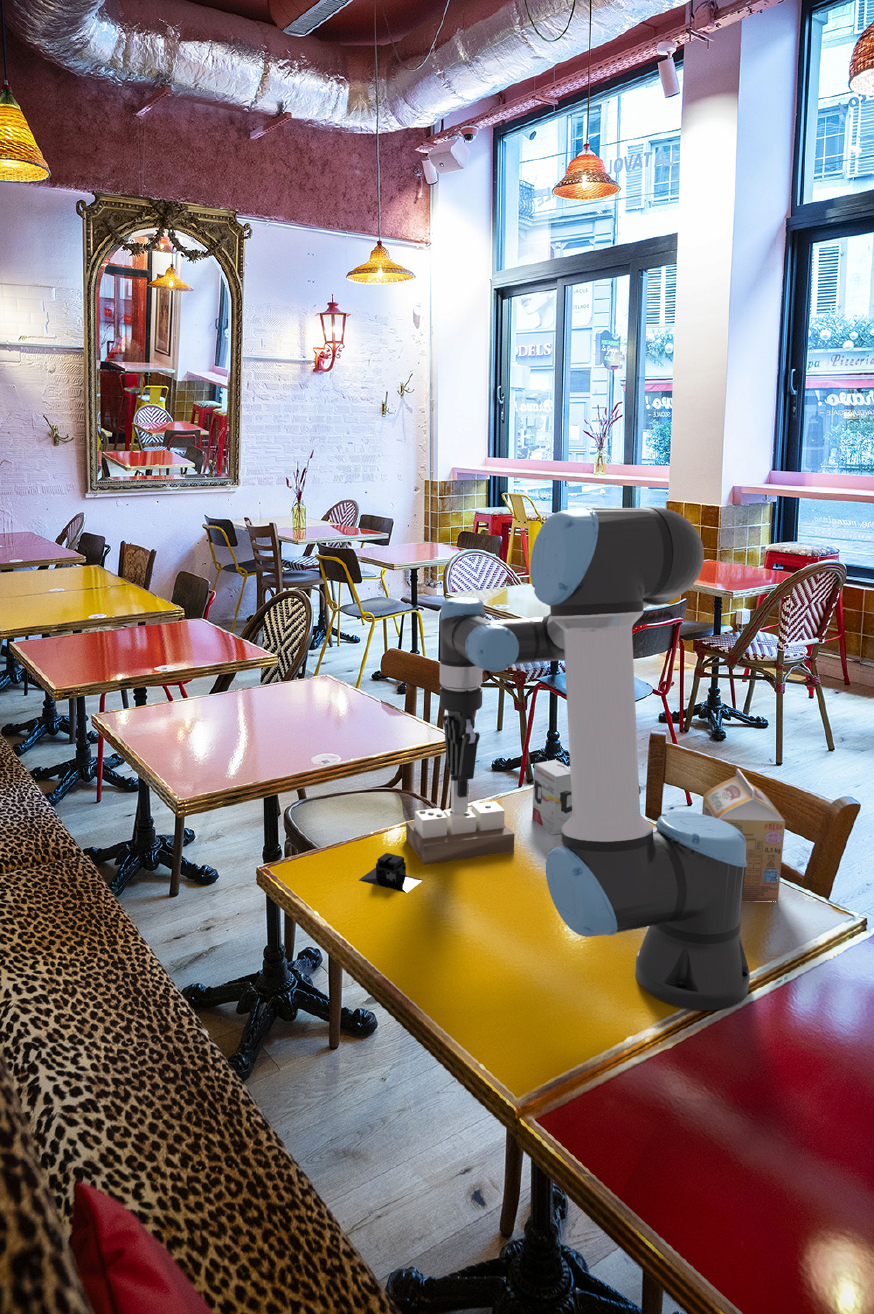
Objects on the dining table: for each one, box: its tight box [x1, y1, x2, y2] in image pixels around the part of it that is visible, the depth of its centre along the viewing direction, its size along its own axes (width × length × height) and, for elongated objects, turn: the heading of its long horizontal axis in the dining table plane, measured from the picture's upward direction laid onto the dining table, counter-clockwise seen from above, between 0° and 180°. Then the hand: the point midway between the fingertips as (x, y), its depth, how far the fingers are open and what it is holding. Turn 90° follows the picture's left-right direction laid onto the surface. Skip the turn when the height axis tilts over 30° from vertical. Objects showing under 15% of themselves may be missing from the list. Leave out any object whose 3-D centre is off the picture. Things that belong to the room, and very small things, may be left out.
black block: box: [358, 852, 423, 893], centre depth 160 cm, size 12×7×5 cm, turn 61°
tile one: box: [471, 801, 505, 831], centre depth 175 cm, size 5×5×5 cm
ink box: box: [531, 759, 572, 835], centre depth 182 cm, size 9×5×12 cm, turn 25°
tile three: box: [414, 807, 447, 839], centre depth 171 cm, size 5×5×5 cm
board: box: [405, 820, 515, 865], centre depth 174 cm, size 11×17×4 cm, turn 109°
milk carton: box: [701, 768, 786, 903], centre depth 156 cm, size 11×11×19 cm
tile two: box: [443, 808, 476, 835], centre depth 173 cm, size 5×5×5 cm
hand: (459, 811), depth 173 cm, fingers closed
